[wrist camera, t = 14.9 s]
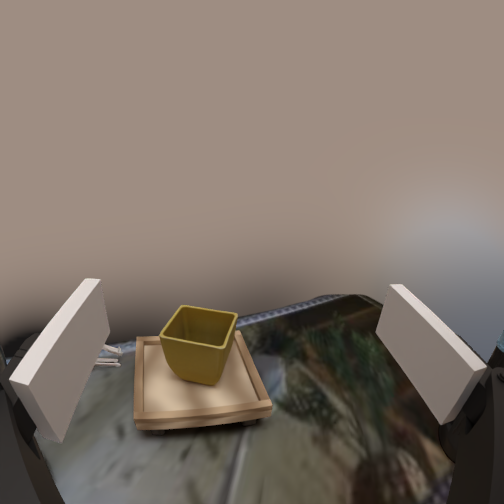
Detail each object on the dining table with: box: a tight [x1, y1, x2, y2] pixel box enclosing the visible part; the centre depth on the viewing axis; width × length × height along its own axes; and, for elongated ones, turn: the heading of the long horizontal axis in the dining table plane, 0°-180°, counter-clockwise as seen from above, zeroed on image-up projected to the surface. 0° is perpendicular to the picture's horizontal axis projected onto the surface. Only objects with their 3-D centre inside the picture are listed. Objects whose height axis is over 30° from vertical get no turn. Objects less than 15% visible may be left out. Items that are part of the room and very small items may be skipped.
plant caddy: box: [134, 331, 273, 435], centre depth 42 cm, size 18×18×6 cm
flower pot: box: [159, 305, 238, 386], centre depth 40 cm, size 9×9×9 cm
